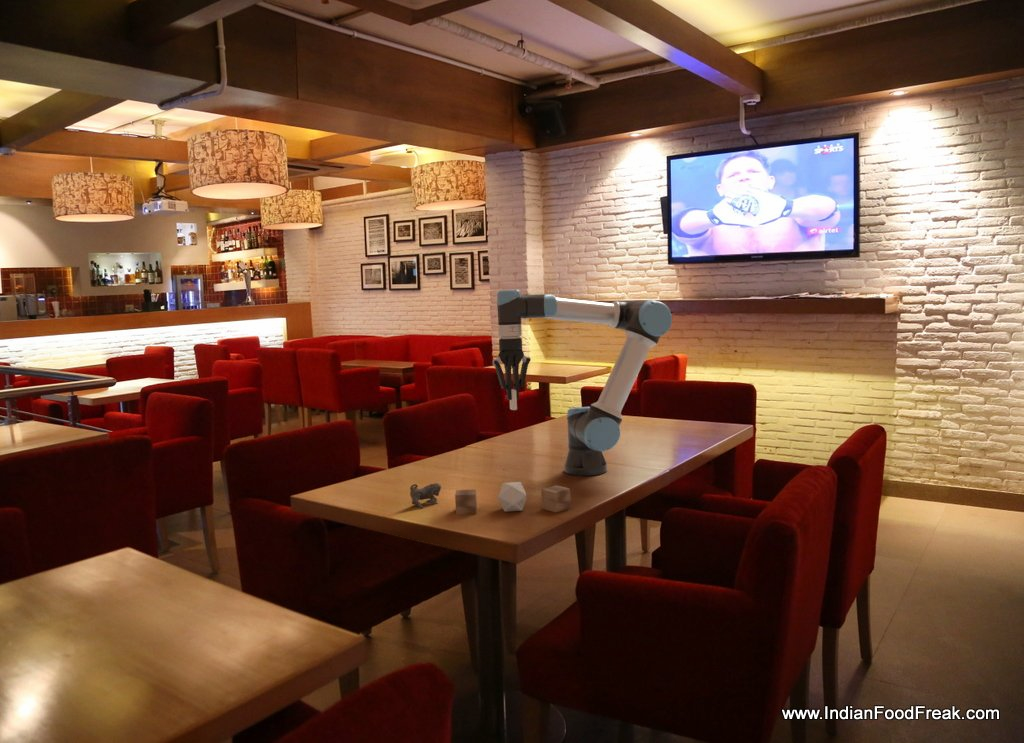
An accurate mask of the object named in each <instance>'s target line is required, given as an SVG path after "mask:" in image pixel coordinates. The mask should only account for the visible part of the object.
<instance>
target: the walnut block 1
mask: <svg viewBox="0 0 1024 743" xmlns="http://www.w3.org/2000/svg"><path fill="white" fill-rule="evenodd" d="M454 500H455V502H454V503H455V515H456V516H459V515H463V516H464V515H465V516H466V515H477V512H478V502H477V488H475V489H473V488H472V489H456V490H455V494H454Z"/></svg>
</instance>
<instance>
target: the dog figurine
mask: <svg viewBox="0 0 1024 743" xmlns="http://www.w3.org/2000/svg"><path fill="white" fill-rule="evenodd" d="M418 486H419V485H418V484H417V483H414V484H412V485H410V488H409V489H410V490H409V491H410V492H409V496H410V497H411V504H412V505H417V507H418V508H420V509H424V508H425V507H424V506H423V505H422V504H421V502H420V501H423V500H426V503H428V504H431V505H436V504H438V500H437V498H436V497H438V496H439V495H440V491H441V489H442V484H440V483H437V482H434V483H431V484H428V485H425V486H423V487H422V488H418ZM435 496H436V497H435ZM427 499H428V500H427Z"/></svg>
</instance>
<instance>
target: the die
mask: <svg viewBox="0 0 1024 743" xmlns="http://www.w3.org/2000/svg"><path fill="white" fill-rule="evenodd" d="M527 497H528V496H527V493H526V491H525V488H524V486H523V484H522V482H520V481H514V482H513V481H512V482H502V484H501V488H500V491H499V493H498V495H497V498H498V501H499V502H500V505H501V508H502V510H503V512H504V513H505V512H518V511H519V512H522V511H523V509H524V506H525V504H526V500H527Z"/></svg>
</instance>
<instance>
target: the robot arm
mask: <svg viewBox="0 0 1024 743" xmlns="http://www.w3.org/2000/svg"><path fill="white" fill-rule="evenodd" d="M496 295H497V296H496V298H497V299H496V301H497V303H496V308H497V309H496V310H497V321H498V322H497V324H498V331H497V332H498V337H499V340H498V347H499V353H498V355H497V357H496V358H495V359H493V360H491V364H492V366H494V368H495V372H496V375H497V379H498V381H499V385H500V388H501V389H504V390H506V399H507V400H508V401H509V409H510V410H511V411H517V410H518V403H517V402H518V401H517V400H520V389H521V388H525V383H526V378H527V373H528V366H529V364H530V362H531V360H532V359H531V358H530V357H527V356H525V354H524V352H523V339H522V334H523V333H522V331H523V330H522V319H549V320H557V321H558V320H560V321H569V322H577V323H588V324H595V325H607V326H609V327H610V328H612V329H617V330H623V331H624V333H625V335H626V336H625V337H626V339H625V341H624V343H623V346H622V348H621V349H620V352H619V354H618V356H617V358H616V360H615V363H614V364H613V367H612V369H611V371H610V374H609V376H608V379H607V380H606V382H605V385H604V387H603V388H602V391H601V393H600V395H599V398H598V400H597V401H595V402H593V403H591V404H590V406H580V407H579V406H578V407H572V408H569V409H567V414H566V420H567V440H568V441H567V443H568V449H567V450H568V451H567V455H566V458H565V462H564V465H563V467H564V470H563V471H564V473H566V474H567V475H570V476H571V475H572V476H581V477H582V476H583V477H584V476H596V475H602V474H605V473H606V472H607V471H608V465H607V461H606V458H605V455H604V452H606V451H608V450H611V449H613V448H614V447H615V446H616V445H617V443H618V442H619V440H620V437H621V429H620V426H621V424H622V421H623V420H624V419H623V416H622V410H623V408H624V406H625V403H626V402H627V400H628V398H629V395H630V393H631V390H632V389H633V386H634V384H635V382H636V380H637V377H638V375H639V373H640V371H641V369H642V367H643V365H644V362H645V360H646V358H647V355H648V354H649V352H650V349H651V348H653V347H656V346H657V345H658V343H659V340H660V338H661V336H664V335H665V334H667V333H668V332H669V330H670V329H671V327H672V324H673V317H672V316H673V315H672V313H671V309H670V308H669V307H668V306H667V305H666V304H665V303H663V302H661V301H659V300H655V299H650V300H643V299H642V300H631V301H628V300H627V301H620V300H614V301H613V302H612V303H611V302H610V303H609V302H601V301H592V300H583V299H582V300H581V299H572V298H563V297H556V296H555V295H554V294H548V293H544V294H543V293H542V294H521V292H520V289H504V290H503V289H502V290H498V292H497V294H496ZM501 363H502V364H503V365H504V366H503V367H504V372H503V369H502V366H501ZM520 363H521V367H520ZM519 368H520V370H519ZM519 371H520V372H519ZM504 374H505V375H504Z"/></svg>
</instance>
